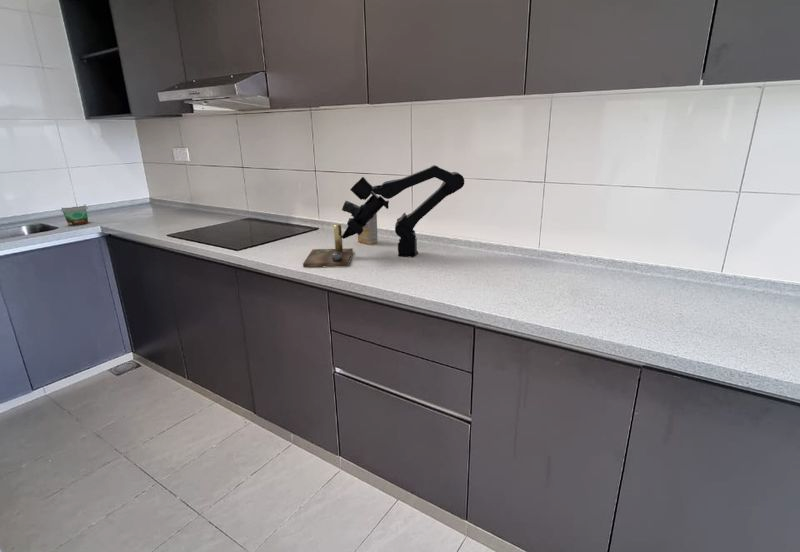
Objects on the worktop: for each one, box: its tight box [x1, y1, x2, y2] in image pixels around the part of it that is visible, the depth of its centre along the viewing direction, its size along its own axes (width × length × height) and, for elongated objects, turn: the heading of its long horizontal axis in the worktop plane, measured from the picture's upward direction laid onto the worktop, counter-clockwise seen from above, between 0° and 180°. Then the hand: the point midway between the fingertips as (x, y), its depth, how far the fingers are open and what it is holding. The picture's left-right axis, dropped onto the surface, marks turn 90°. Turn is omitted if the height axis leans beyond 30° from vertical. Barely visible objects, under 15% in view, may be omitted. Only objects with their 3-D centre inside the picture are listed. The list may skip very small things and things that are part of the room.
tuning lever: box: [332, 223, 344, 261], centre depth 163 cm, size 4×17×10 cm, turn 4°
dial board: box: [302, 247, 354, 268], centre depth 165 cm, size 16×19×2 cm
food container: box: [60, 204, 89, 227], centre depth 238 cm, size 12×6×10 cm, turn 148°
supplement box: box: [357, 213, 379, 245], centre depth 186 cm, size 8×5×13 cm, turn 45°
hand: (342, 237), depth 167 cm, fingers closed, pressing on tuning lever
